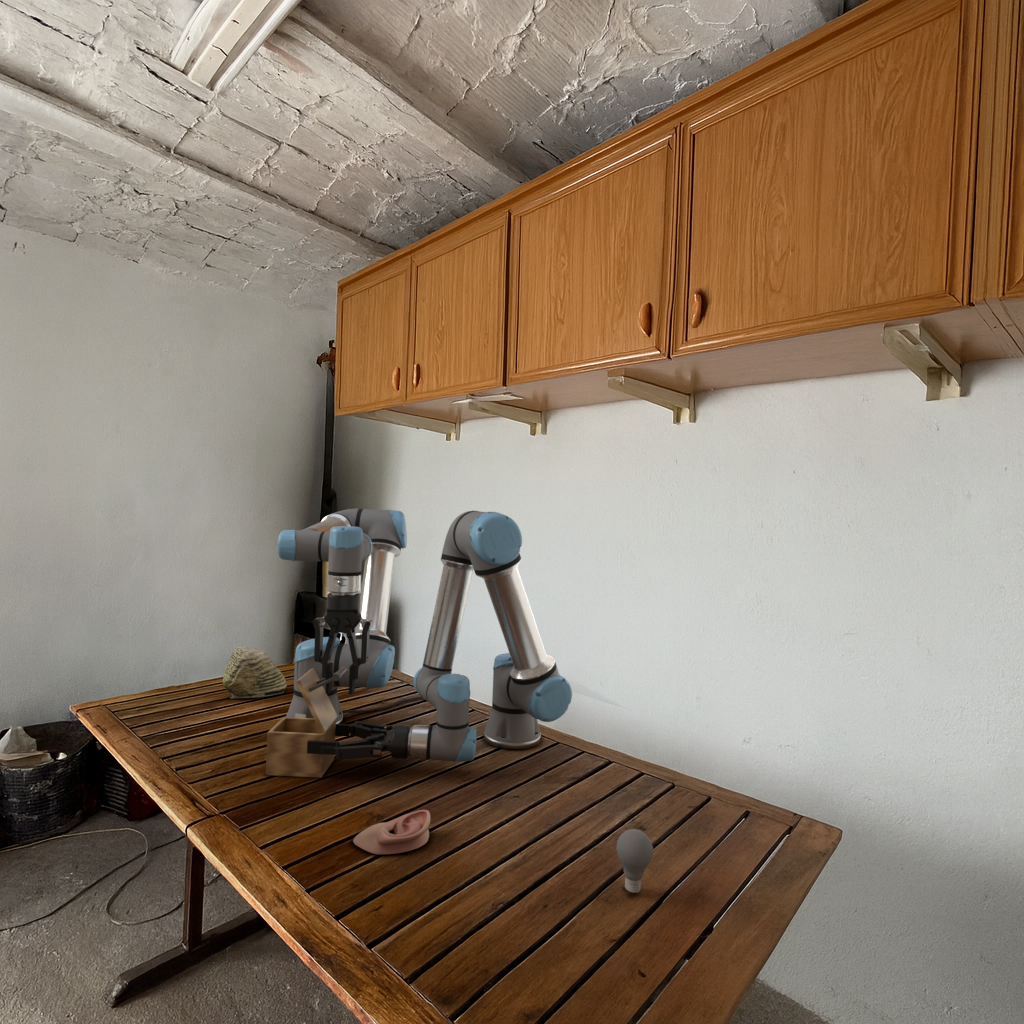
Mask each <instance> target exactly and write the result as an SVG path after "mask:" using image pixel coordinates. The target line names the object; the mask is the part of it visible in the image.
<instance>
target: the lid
mask: <svg viewBox="0 0 1024 1024" xmlns="http://www.w3.org/2000/svg"><path fill="white" fill-rule="evenodd" d="M346 672H347V668H346V667H341V668H340V669H339V670H338V671H337V672H335V673H333V677H332V678H330V679H328V680H326V678H323V679H321V680H319V678H318V676H317V674H316V672H315V670H314V668H312V669H310V670H309V671H308V672H307V673H306V674H304V675H303V676H302V677H301V678H300V679H298V680H297V681H296V683H297V685H298V687H299V689H300V691H301V693H302V695H303V697H304V699H305V701H306V703H307V705H308V707H309V709H310V711H311V713H312V715H313V717H314V719H315V721H316V723H317V725H318V727H319V729H320V731H321V733H324V732H325V731H326V730H327V729H328V728H329V726H330V725H331V724H332V723H333V721H334V720H335V719H336V718H337V714H336V712H335V710H334V708H333V706H332V704H331V702H330V700H329V698H328V696H327V694H325V693H326V692H325V690H324V688H323V685H325V684H327V683H329V682H331V681H333V680H334V681H338V680H339V679H340V678H341V677H342V676H343V675H344V674H345V673H346Z"/></svg>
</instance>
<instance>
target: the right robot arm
mask: <svg viewBox="0 0 1024 1024" xmlns="http://www.w3.org/2000/svg"><path fill="white" fill-rule="evenodd" d="M522 546H523V535H522V531H521V529H520V527H519V525H518V524H517V523H516V521H515V520H514V519H512V517H510V516H508V515H506V514H504V513H500V512H496V511H479V510H467V511H464V512H462V513H461V514H459V515H457V517H456V518H454V520H453V521H452V522H451V523H450V525H449V528H448V530H447V532H446V536H445V539H444V543H443V546H442V551H441V556H440V561H441V563H442V564H443V565H442V571H441V576H440V579H439V585H438V590H437V594H436V600H435V605H434V609H433V613H432V619H431V624H430V629H429V633H428V638H427V643H426V648H425V652H424V657H423V662H422V667H420V669H418V670H417V671H416V673H415V674H414V676H413V681H412V683H413V688H414V690H415V691H416V692H417V694H418V695H419V697H422V698H423V699H422V700H425V701H426V702H428V703H429V704H430V705H431V706H432V707H433V708H434V709H436V721H435V722H436V723H435V724H436V725H429V724H426V725H425V724H413V725H412V726H411V725H410V724H400V723H397V724H395V725H394V726H393V725H392V724H379V723H374V722H368V721H361V720H355V721H354V722H353V723H350V724H349V723H341V724H336V730H335V737H346V738H348V737H349V738H350V739H351V738H354V737H356V738H361V739H358V740H352V741H346V742H340V741H339V740H335V741H311V740H308V742H307V754H329V755H334V756H335V759H336V760H337V761H341V760H355V759H357V760H358V759H369V758H374V759H381V758H382V756H383V754H382V753H385V752H389V753H390V756H391V758H392V759H394V760H397V759H398V760H407V759H408V758H410V760H419V761H420V762H424V760H427V761H445V762H454V763H456V762H472V761H474V760H475V757H476V753H477V739H478V738H477V734H478V733H477V732H478V730H477V729H476V728H475V727H472V726H470V724H469V717H470V715H469V714H470V701H471V700H470V698H471V683H470V681H471V680H470V679H469V677H468V676H467V675H464V674H461V673H452V671H453V666H454V661H455V656H456V652H457V648H458V643H459V638H460V632H461V628H462V624H463V619H464V614H465V609H466V605H467V599H468V595H469V590H470V586H471V581H472V577H473V572H474V574H475V576H476V577H479V578H481V579H483V581H484V583H485V586H486V590H487V592H488V596H489V599H490V600H491V604H492V607H493V609H494V613H495V615H496V618H497V621H498V625H499V628H500V629H501V630H500V631H501V632H502V636H503V638H504V642H505V644H506V647H507V650H508V652H504V653H501V654H500V653H499V654H498V655H496V656H495V657H494V659H493V660H494V661H493V666H492V670H493V672H492V673H493V674H492V698H491V699H492V700H491V701H492V702H491V711H490V713H489V716H488V719H487V714H485V716H484V718H483V722H486V719H487V722H486V724H485V727H484V730H483V739H484V741H485V742H486V743H488V744H489V745H490V746H493V747H496V748H500V749H504V750H505V749H506V750H524V749H531V748H533V747H536V746H537V745H539V744H540V743H541V739H542V738H541V737H542V735H541V734H542V733H541V729H540V725H539V722H538V720H539V721H541V722H544V723H552V722H554V721H557V720H558V719H560V718H561V717H562V716H564V715H565V713H566V712H567V711H568V709H569V706H570V705H571V703H572V700H573V688H572V685H571V683H570V681H568V680H567V678H566V677H564V676H562V675H561V674H560V672H559V669H558V665H557V662H556V660H555V658H554V657H553V656H552V655H550V654H548V653H547V652H546V649H545V646H544V643H543V640H542V637H541V634H540V631H539V628H538V625H537V622H536V618H535V615H534V612H533V610H532V607H531V603H530V601H529V597H528V594H527V591H526V589H525V588H526V587H525V586H524V583H523V582H524V581H523V580H522V577H521V573H520V569H519V566H520V564H521V562H522V556H521V554H520V552H521V547H522Z"/></svg>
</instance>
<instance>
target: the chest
mask: <svg viewBox="0 0 1024 1024" xmlns="http://www.w3.org/2000/svg"><path fill="white" fill-rule="evenodd" d="M335 730H336V719H335V720H334V721H333V723H332V724H331V725H330V726H329V728H328V729H327V730H326V731H325V732H324V733H321V731H320V729H319V727H318V725H317V723H316V721H315V719H314V718H297V717H286V716H282V718H281V719H280V720H278V722H277V723H276V724H274V726H273V727H272V728H271V729H269V730H268V731H267V735H266V760H265V776H276V777H277V776H279V777H301V778H323V776H324V775H325V773H326V772H327V771H328V769H329V767H330V766H332V765H331V764H332V763H333V762H334V760H335V755H329V754H307V742H308V740H311V741H335V742H336V736H335Z"/></svg>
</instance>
